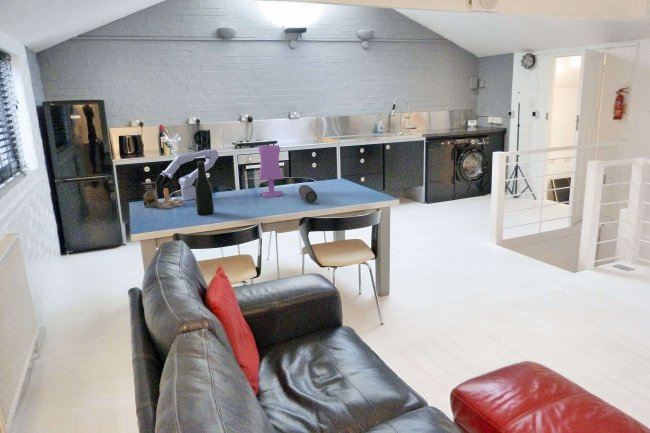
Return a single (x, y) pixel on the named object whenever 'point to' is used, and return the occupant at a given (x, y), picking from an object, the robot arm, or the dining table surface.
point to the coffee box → (149, 194)
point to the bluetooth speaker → (307, 193)
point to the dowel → (166, 194)
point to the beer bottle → (203, 192)
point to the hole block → (169, 203)
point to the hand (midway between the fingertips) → (158, 184)
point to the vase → (270, 168)
